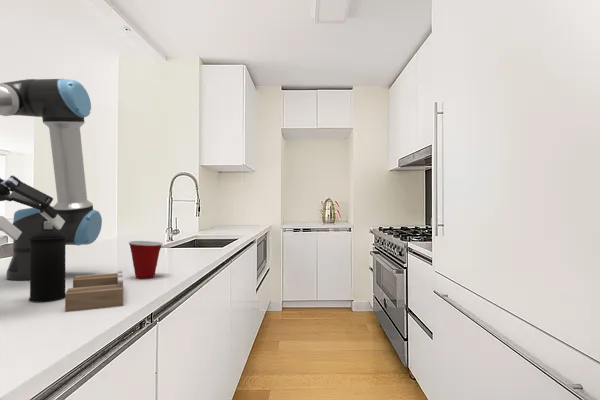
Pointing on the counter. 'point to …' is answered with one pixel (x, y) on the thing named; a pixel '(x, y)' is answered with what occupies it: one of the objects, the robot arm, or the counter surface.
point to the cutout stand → (95, 292)
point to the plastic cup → (145, 258)
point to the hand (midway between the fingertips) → (39, 231)
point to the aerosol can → (47, 265)
